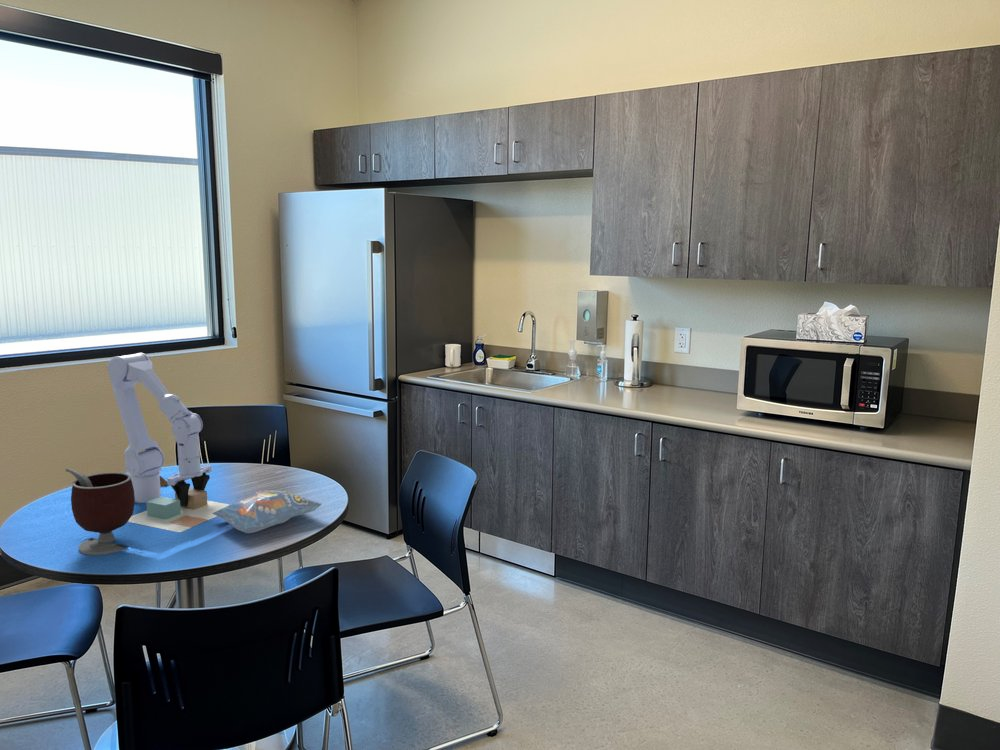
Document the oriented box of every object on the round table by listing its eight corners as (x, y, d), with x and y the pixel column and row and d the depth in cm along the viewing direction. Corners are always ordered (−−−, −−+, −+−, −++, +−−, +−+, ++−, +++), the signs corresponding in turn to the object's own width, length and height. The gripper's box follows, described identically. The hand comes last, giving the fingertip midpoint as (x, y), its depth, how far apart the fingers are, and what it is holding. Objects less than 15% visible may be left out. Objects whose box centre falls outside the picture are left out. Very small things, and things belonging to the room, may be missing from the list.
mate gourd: (147, 534, 190) (142, 461, 187) (121, 556, 177) (115, 477, 174) (87, 534, 190) (81, 460, 187) (56, 556, 176) (49, 476, 173)
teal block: (147, 515, 201) (146, 501, 200) (161, 509, 205) (160, 496, 205) (166, 519, 198) (165, 505, 198) (180, 513, 203) (179, 499, 202)
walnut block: (175, 506, 209) (174, 492, 208) (189, 500, 213) (188, 487, 213) (194, 509, 206) (193, 496, 206) (207, 504, 211) (206, 491, 210)
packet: (322, 520, 203) (321, 490, 202) (243, 543, 186) (241, 511, 185) (289, 505, 215) (288, 477, 213) (212, 526, 198) (210, 496, 196)
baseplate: (121, 524, 197) (120, 519, 197) (184, 500, 217) (183, 495, 217) (179, 536, 190) (179, 532, 189) (239, 510, 210) (239, 506, 209)
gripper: (179, 465, 199) (182, 512, 201) (218, 452, 213) (220, 496, 215) (160, 462, 202) (163, 508, 204) (200, 449, 215) (202, 493, 217)
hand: (191, 502), depth 210 cm, fingers closed on walnut block, 5 cm apart
